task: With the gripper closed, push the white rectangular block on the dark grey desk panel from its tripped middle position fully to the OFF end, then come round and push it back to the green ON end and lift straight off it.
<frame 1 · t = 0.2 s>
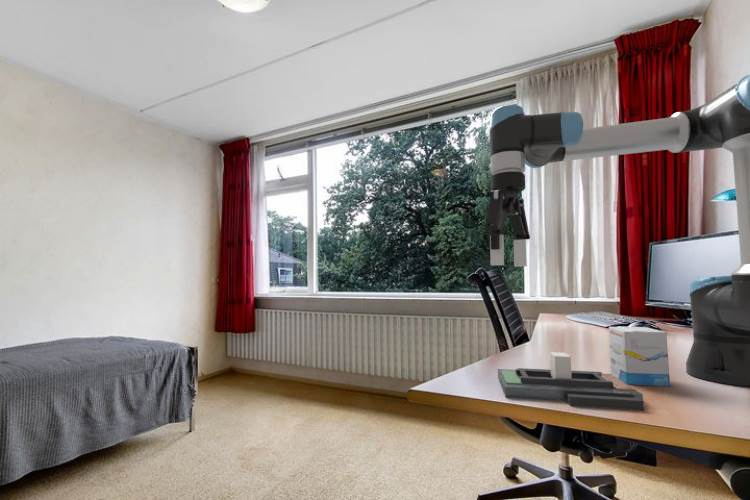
hand: (509, 266, 83), 26 cm above the table, fingers open, 13 cm apart
white rectangular block: (560, 366, 76), point 5 cm above the table, slide at 5.0 cm
panel: (561, 389, 76), on the table
ink box: (638, 381, 82), on the table
dark grey slim bar: (559, 377, 85), on the table
dark grey bar: (604, 406, 66), on the table
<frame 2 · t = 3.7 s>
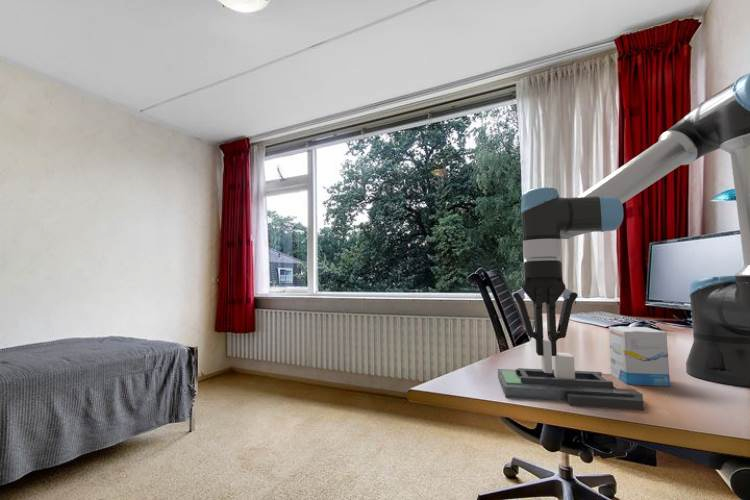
hand: (547, 371, 77), 4 cm above the table, fingers closed
white rectangular block: (563, 366, 76), point 5 cm above the table, slide at 4.4 cm, touching gripper
everything else where it was.
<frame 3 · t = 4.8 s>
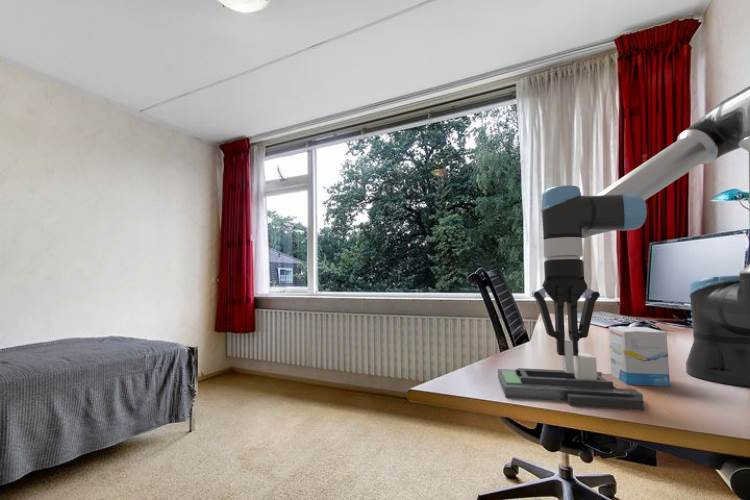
hand: (568, 371, 76), 4 cm above the table, fingers closed
white rectangular block: (585, 367, 75), point 5 cm above the table, slide at 0.3 cm, touching gripper
everything else where it was.
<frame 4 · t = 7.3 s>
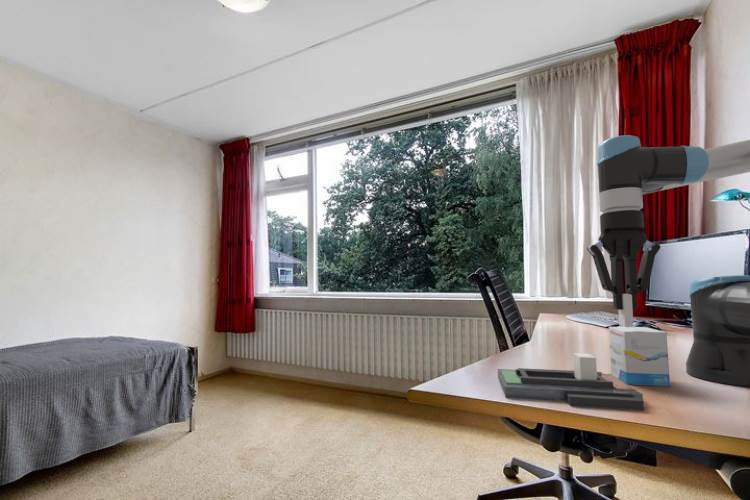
hand: (626, 325, 74), 14 cm above the table, fingers closed
white rectangular block: (585, 367, 75), point 5 cm above the table, slide at 0.3 cm
everything else where it was.
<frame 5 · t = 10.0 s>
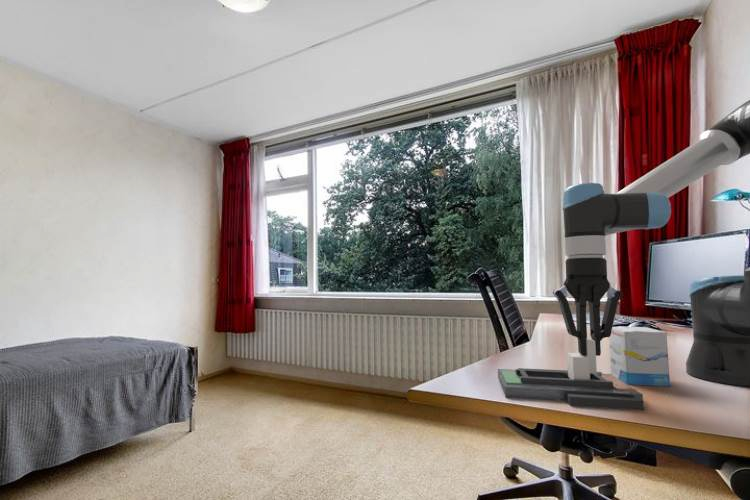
hand: (590, 371, 75), 4 cm above the table, fingers closed
white rectangular block: (578, 367, 76), point 5 cm above the table, slide at 1.6 cm, touching gripper
everything else where it was.
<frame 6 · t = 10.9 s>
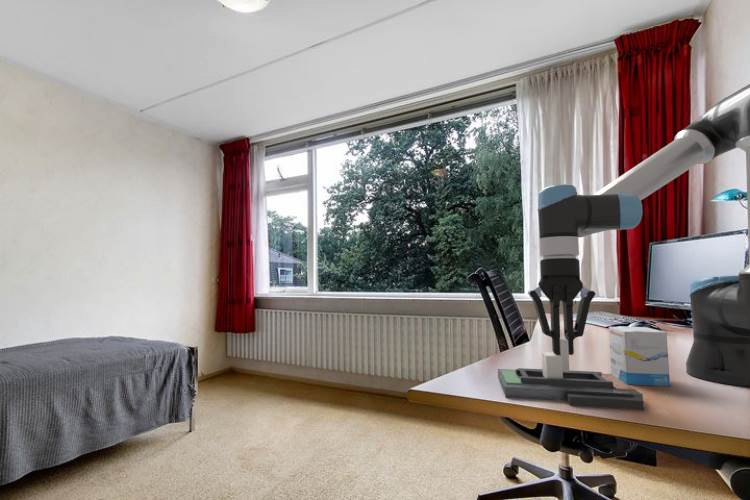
hand: (563, 370, 76), 4 cm above the table, fingers closed
white rectangular block: (552, 366, 77), point 5 cm above the table, slide at 6.7 cm, touching gripper
everything else where it was.
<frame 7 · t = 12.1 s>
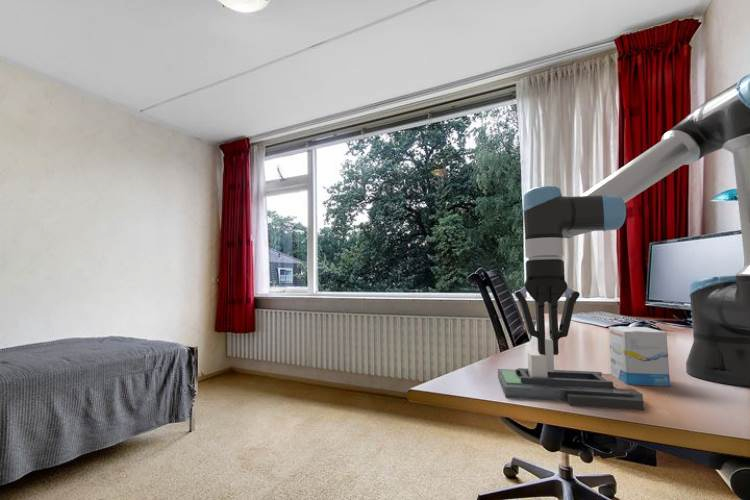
hand: (548, 370, 77), 4 cm above the table, fingers closed
white rectangular block: (537, 365, 77), point 5 cm above the table, slide at 9.5 cm, touching gripper
everything else where it was.
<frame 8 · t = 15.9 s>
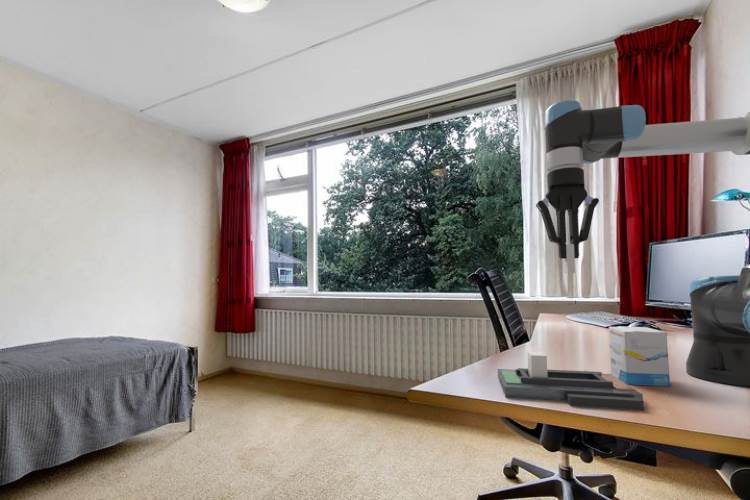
hand: (569, 273, 82), 24 cm above the table, fingers closed
white rectangular block: (537, 365, 77), point 5 cm above the table, slide at 9.6 cm
everything else where it was.
at the end: white rectangular block slide at 9.6 cm; white rectangular block touching nothing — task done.
